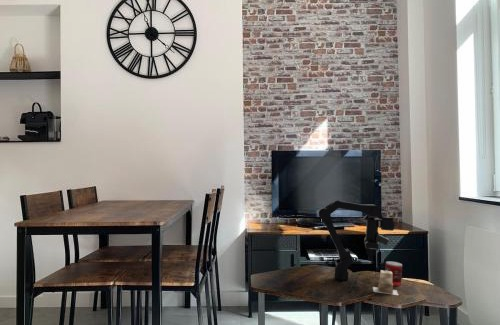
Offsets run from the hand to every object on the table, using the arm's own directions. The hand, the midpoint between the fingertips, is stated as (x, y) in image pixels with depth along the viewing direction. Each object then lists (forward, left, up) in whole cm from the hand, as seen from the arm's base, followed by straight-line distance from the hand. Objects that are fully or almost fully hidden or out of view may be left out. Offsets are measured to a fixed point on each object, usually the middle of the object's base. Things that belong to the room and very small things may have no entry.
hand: (370, 259), depth 195 cm
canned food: (+12, +3, -12) cm, 17 cm away
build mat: (+7, -13, -12) cm, 19 cm away
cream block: (+7, -13, -11) cm, 19 cm away
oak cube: (+7, -13, -7) cm, 16 cm away
